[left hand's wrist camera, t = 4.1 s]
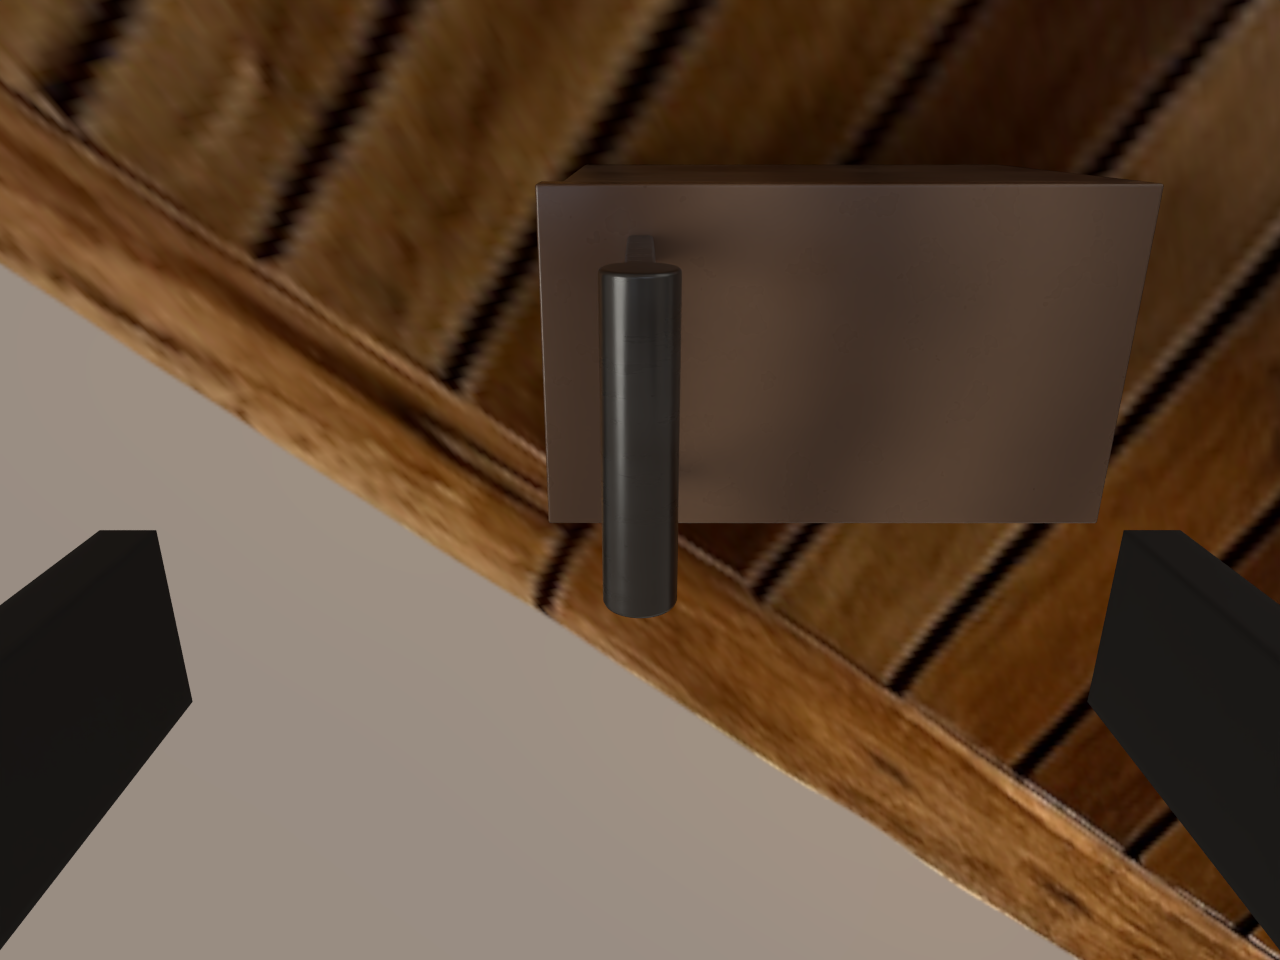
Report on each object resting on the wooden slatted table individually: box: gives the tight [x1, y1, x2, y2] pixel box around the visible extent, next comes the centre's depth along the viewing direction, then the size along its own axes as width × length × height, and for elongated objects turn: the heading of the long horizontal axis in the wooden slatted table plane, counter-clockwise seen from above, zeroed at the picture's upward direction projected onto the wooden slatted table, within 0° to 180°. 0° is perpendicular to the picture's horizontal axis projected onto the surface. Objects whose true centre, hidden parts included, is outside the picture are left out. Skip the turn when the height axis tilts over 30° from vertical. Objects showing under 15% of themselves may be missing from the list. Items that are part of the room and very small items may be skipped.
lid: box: [535, 182, 1163, 618], centre depth 23 cm, size 17×10×9 cm, turn 90°
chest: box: [563, 165, 1141, 182], centre depth 32 cm, size 16×10×11 cm, turn 90°
